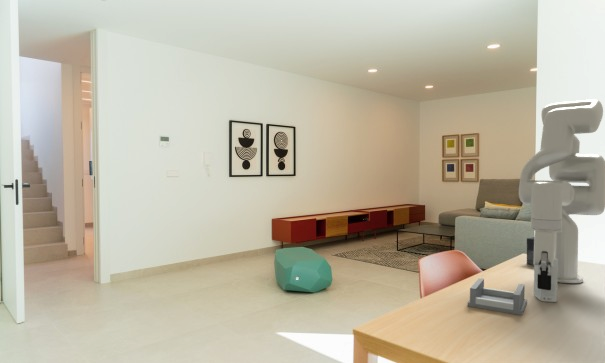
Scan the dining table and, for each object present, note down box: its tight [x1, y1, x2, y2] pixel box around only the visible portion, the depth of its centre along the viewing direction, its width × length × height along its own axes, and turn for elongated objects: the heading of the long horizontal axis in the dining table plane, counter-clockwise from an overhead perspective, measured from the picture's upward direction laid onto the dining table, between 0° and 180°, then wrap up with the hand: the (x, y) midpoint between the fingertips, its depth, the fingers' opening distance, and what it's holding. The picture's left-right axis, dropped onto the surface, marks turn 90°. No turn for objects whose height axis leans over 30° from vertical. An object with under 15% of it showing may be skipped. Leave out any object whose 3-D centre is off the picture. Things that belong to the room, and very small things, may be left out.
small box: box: [526, 236, 534, 266], centre depth 161 cm, size 11×6×10 cm, turn 122°
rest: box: [467, 278, 528, 316], centre depth 111 cm, size 12×13×5 cm
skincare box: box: [533, 256, 558, 303], centre depth 116 cm, size 6×4×12 cm
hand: (545, 285), depth 116 cm, fingers open, 9 cm apart
